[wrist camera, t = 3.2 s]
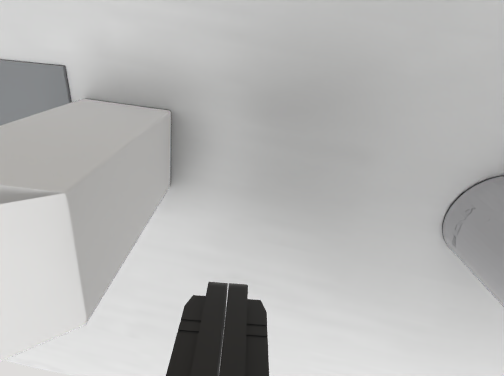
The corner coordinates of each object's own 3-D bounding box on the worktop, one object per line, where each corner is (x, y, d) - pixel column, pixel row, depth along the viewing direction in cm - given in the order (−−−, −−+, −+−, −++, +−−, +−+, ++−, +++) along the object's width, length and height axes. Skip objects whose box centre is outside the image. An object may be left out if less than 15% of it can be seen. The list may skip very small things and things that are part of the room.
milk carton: (171, 109, 24) (-28, 267, 7) (170, 186, 28) (28, 421, 11) (84, 97, 24) (-336, 232, 7) (92, 176, 27) (-184, 402, 10)
